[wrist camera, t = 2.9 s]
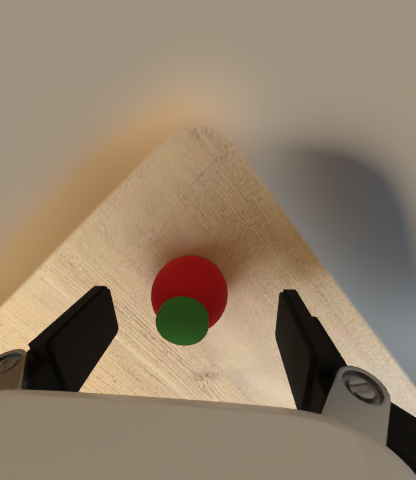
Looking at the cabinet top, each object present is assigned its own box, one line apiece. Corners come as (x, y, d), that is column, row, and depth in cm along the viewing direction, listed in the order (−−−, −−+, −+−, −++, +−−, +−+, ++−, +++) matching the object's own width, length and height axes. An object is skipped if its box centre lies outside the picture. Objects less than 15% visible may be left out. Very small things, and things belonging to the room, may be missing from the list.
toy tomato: (157, 290, 15) (127, 345, 10) (172, 235, 13) (145, 271, 9) (214, 308, 15) (211, 370, 10) (236, 256, 14) (243, 302, 9)
